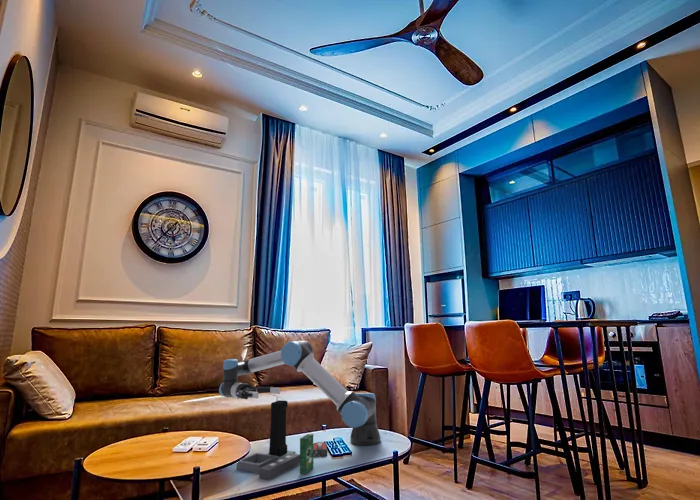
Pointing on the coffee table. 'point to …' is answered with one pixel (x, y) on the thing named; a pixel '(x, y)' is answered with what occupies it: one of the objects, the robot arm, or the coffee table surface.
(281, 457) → the rubber mat
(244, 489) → the coffee table surface
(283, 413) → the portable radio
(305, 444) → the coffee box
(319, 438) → the coffee table surface
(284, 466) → the charging dock
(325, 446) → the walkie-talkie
